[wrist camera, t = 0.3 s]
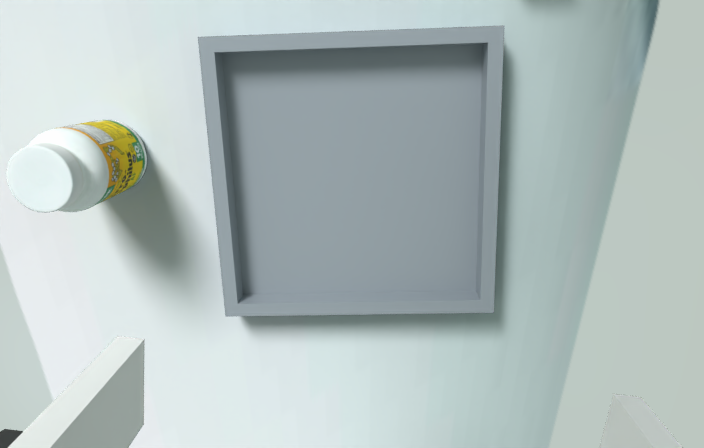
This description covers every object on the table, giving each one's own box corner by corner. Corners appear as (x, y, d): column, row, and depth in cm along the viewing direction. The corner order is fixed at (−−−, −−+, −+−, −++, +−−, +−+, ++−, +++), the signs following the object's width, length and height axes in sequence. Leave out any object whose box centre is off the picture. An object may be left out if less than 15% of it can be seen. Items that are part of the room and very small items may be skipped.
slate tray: (208, 39, 39) (197, 36, 37) (496, 28, 38) (504, 25, 36) (233, 303, 44) (225, 316, 42) (487, 299, 43) (493, 312, 41)
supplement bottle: (93, 106, 41) (10, 115, 31) (160, 140, 41) (98, 159, 32) (68, 170, 42) (-18, 198, 33) (134, 203, 42) (66, 239, 33)
